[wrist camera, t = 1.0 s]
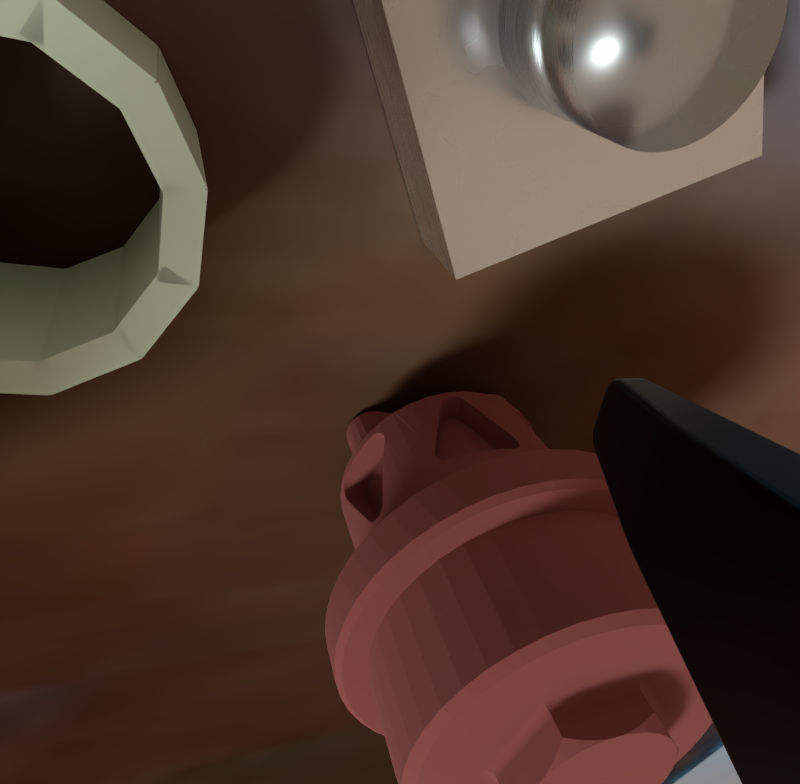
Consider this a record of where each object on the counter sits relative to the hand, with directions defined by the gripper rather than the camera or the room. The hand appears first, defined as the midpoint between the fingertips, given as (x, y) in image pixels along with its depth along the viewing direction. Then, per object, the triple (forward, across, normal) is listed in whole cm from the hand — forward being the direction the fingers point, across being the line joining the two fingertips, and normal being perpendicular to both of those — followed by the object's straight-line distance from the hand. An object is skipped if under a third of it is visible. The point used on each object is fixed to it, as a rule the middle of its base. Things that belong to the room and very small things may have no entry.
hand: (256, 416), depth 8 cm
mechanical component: (+12, -6, +10) cm, 17 cm away
